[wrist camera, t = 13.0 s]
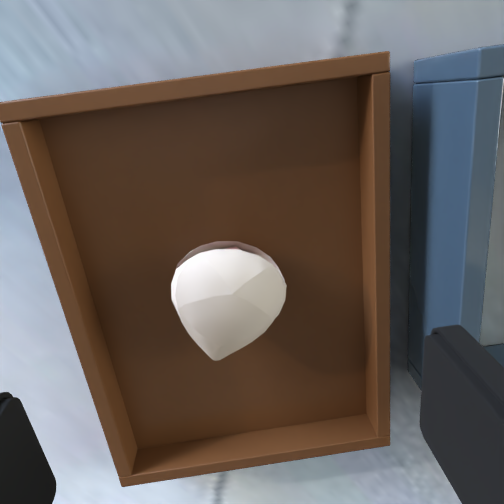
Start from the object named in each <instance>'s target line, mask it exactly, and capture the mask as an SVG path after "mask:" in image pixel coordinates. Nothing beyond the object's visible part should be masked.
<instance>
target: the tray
mask: <svg viewBox="0 0 504 504" xmlns="http://www.w3.org/2000/svg"><path fill="white" fill-rule="evenodd" d="M389 71H390V52H389V51H385V52H378V53H370V54H362V55H355V56H347V57H340V58H332V59H324V60H317V61H309V62H302V63H294V64H286V65H279V66H271V67H264V68H256V69H248V70H241V71H233V72H226V73H218V74H210V75H203V76H195V77H188V78H180V79H172V80H165V81H157V82H149V83H142V84H134V85H127V86H119V87H111V88H104V89H96V90H89V91H81V92H73V93H66V94H58V95H51V96H43V97H35V98H28V99H20V100H13V101H5V102H0V122H1V123H3V124H2V129H3V132H4V135H5V138H6V141H7V144H8V147H9V150H10V153H11V156H12V159H13V162H14V165H15V168H16V171H17V174H18V177H19V180H20V183H21V186H22V189H23V192H24V195H25V198H26V201H27V204H28V207H29V210H30V213H31V216H32V219H33V222H34V225H35V228H36V231H37V234H38V237H39V240H40V243H41V246H42V249H43V251H44V254H45V257H46V260H47V263H48V266H49V269H50V272H51V275H52V278H53V281H54V284H55V287H56V290H57V293H58V296H59V299H60V302H61V305H62V308H63V311H64V314H65V317H66V320H67V323H68V326H69V329H70V332H71V335H72V338H73V341H74V344H75V347H76V350H77V353H78V356H79V359H80V362H81V365H82V368H83V371H84V374H85V377H86V380H87V383H88V386H89V389H90V392H91V395H92V398H93V401H94V404H95V407H96V410H97V413H98V416H99V419H100V422H101V425H102V428H103V431H104V434H105V437H106V440H107V443H108V446H109V449H110V452H111V455H112V458H113V461H114V464H115V467H116V470H117V473H118V476H119V480H120V483H121V486H122V487H126V486H132V485H139V484H145V483H151V482H158V481H164V480H171V479H177V478H184V477H190V476H197V475H203V474H209V473H216V472H222V471H229V470H235V469H242V468H248V467H255V466H261V465H267V464H274V463H280V462H287V461H293V460H300V459H306V458H313V457H319V456H325V455H332V454H338V453H345V452H351V451H358V450H364V449H371V448H377V447H383V446H389V445H390V72H389ZM216 241H238V242H241V243H244V244H247V245H251V246H254V247H257V248H258V249H260V250H261V251H263V252H264V253H266V254H267V255H268V256H270V257H271V258H272V260H273V261H274V262H275V264H276V265H277V266H278V268H279V270H280V272H281V274H282V276H283V278H284V280H285V283H286V285H287V287H286V298H285V302H284V304H283V307H282V309H281V311H280V313H279V315H278V316H277V317H276V318H275V319H274V321H273V322H272V324H271V325H270V326H269V327H268V328H267V330H266V331H265V332H264V333H263V334H262V335H260V336H259V337H258V338H256V339H255V340H254V341H253V342H251V343H249V344H248V345H246V346H244V347H243V348H241V349H239V350H237V351H235V352H234V353H232V354H230V355H228V356H226V357H225V358H223V359H221V360H217V361H215V360H212V359H211V358H210V357H209V356H208V355H207V354H206V353H205V352H204V351H203V350H202V349H201V348H200V347H199V346H198V345H197V343H196V342H195V341H194V340H193V339H192V337H191V336H190V335H189V334H188V332H187V330H186V329H185V327H184V325H183V324H182V322H181V319H180V317H179V315H178V313H177V310H176V308H175V306H174V304H173V302H172V298H171V283H172V279H173V276H174V273H175V270H176V267H177V264H178V263H179V262H180V261H181V260H182V259H183V258H184V257H185V256H186V255H187V254H188V253H189V252H190V251H192V250H194V249H196V248H197V247H199V246H201V245H205V244H209V243H212V242H216Z"/></svg>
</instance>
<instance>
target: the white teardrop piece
mask: <svg viewBox="0 0 504 504" xmlns="http://www.w3.org/2000/svg"><path fill="white" fill-rule="evenodd" d="M286 287H287V285H286V283H285V280H284V278H283V276H282V274H281V272H280V270H279V268H278V266H277V265H276V264H275V262H274V261H273V260H272V258H271V257H270V256H268V255H267V254H266V253H264V252H263V251H261V250H260V249H258V248H257V247H254V246H251V245H247V244H244V243H241V242H238V241H216V242H212V243H209V244H205V245H201V246H199V247H197V248H196V249H194V250H192V251H190V252H189V253H188V254H187V255H186V256H185V257H184V258H183V259H182V260H181V261H180V262H179V263H178V264H177V267H176V270H175V273H174V276H173V279H172V283H171V298H172V302H173V304H174V306H175V308H176V310H177V313H178V315H179V317H180V319H181V322H182V324H183V325H184V327H185V329H186V330H187V332H188V334H189V335H190V336H191V337H192V339H193V340H194V341H195V342H196V343H197V345H198V346H199V347H200V348H201V349H202V350H203V351H204V352H205V353H206V354H207V355H208V356H209V357H210V358H211V359H212V360H215V361H217V360H221V359H223V358H225V357H226V356H228V355H230V354H232V353H234V352H235V351H237V350H239V349H241V348H243V347H244V346H246V345H248V344H249V343H251V342H253V341H254V340H255V339H256V338H258V337H259V336H260V335H262V334H263V333H264V332H265V331H266V330H267V328H268V327H269V326H270V325H271V324H272V322H273V321H274V319H275V318H276V317H277V316H278V315H279V313H280V311H281V309H282V307H283V304H284V302H285V298H286Z"/></svg>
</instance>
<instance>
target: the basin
mask: <svg viewBox="0 0 504 504" xmlns="http://www.w3.org/2000/svg"><path fill="white" fill-rule="evenodd" d="M502 76H504V44H501V45H494V46H486V47H479V48H474V49H469V50H464V51H458V52H453V53H448V54H443V55H438V56H433V57H427V58H422V59H417V60H415V61H414V83H416V84H414V85H413V126H412V177H411V229H410V281H409V333H408V372H409V374H410V375H411V376H412V378H413V379H414V381H415V382H416V384H417V385H418V387H419V388H420V390H422V371H423V353H424V339H425V337H426V336H427V335H431V331H432V329H433V328H437V327H443V326H450V325H461V326H462V327H463V328H464V329H466V330H467V331H468V332H469V333H470V334H471V335H472V336H473V337H474V338H475V339H476V340H477V341H478V342H479V341H480V331H481V320H482V309H483V299H484V288H485V278H486V267H487V256H488V246H489V235H490V225H491V214H492V203H493V193H494V182H495V172H496V161H497V150H498V140H499V129H500V118H501V108H502V97H503V87H504V77H502ZM484 348H485V349H486V350H487V351H488V352H489V353H490V354H491V355H492V356H493V357H494V358H495V359H496V360H497V361H498V362H499V363H500V364H501V365H502V366H503V367H504V344H499V345H492V346H485V347H484Z"/></svg>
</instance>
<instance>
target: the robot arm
mask: <svg viewBox="0 0 504 504" xmlns="http://www.w3.org/2000/svg"><path fill="white" fill-rule="evenodd" d="M420 428H421V431H422V434H423V437H424V439H425V441H426V442H427V444H428V446H429V448H430V449H431V451H432V453H433V454H434V456H435V458H436V460H437V461H438V463H439V465H440V466H441V468H442V470H443V472H444V473H445V475H446V477H447V478H448V480H449V482H450V484H451V485H452V487H453V489H454V490H455V492H456V494H457V496H458V497H459V499H460V501H461V502H462V504H504V367H503V366H502V365H501V364H500V363H499V362H498V361H497V360H496V359H495V358H494V357H493V356H492V355H491V354H490V353H489V352H488V351H487V350H486V349H485V348H484V347H483V346H482V345H481V344H480V343H479V342H478V341H477V340H476V339H475V338H474V337H473V336H472V335H471V334H470V333H469V332H468V331H467V330H466V329H464V328H463V327H462V326H461V325H450V326H443V327H437V328H433V329H432V331H431V335H427V336H426V337H425V339H424V353H423V371H422V390H421V409H420ZM55 493H56V480H55V477H54V475H53V473H52V470H51V468H50V466H49V464H48V461H47V459H46V457H45V455H44V452H43V450H42V448H41V446H40V443H39V441H38V439H37V437H36V434H35V432H34V430H33V428H32V425H31V423H30V421H29V419H28V416H27V414H26V412H25V410H24V407H23V405H22V403H21V401H20V399H18V398H16V397H13V396H12V394H10V393H9V392H3V393H0V504H52V502H53V500H54V497H55Z"/></svg>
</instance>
